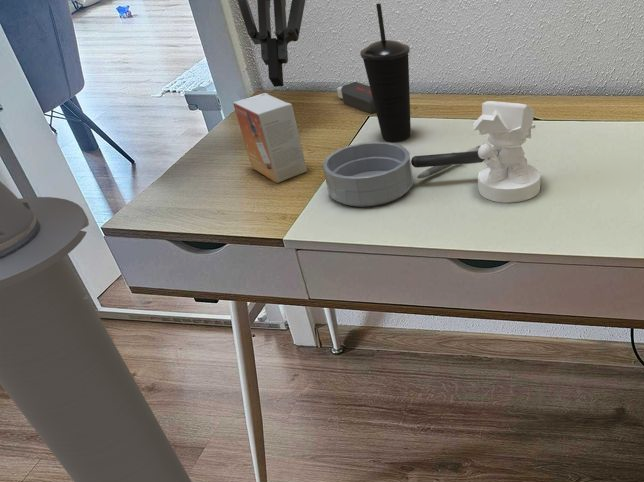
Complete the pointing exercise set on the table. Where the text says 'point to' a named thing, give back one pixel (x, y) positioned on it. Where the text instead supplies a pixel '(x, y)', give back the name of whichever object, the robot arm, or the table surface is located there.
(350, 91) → the usb drive
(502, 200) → the character figurine
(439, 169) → the pen
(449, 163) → the pan handle
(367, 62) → the drinking cup
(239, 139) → the table surface
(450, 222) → the table surface
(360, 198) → the pan
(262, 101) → the small box
